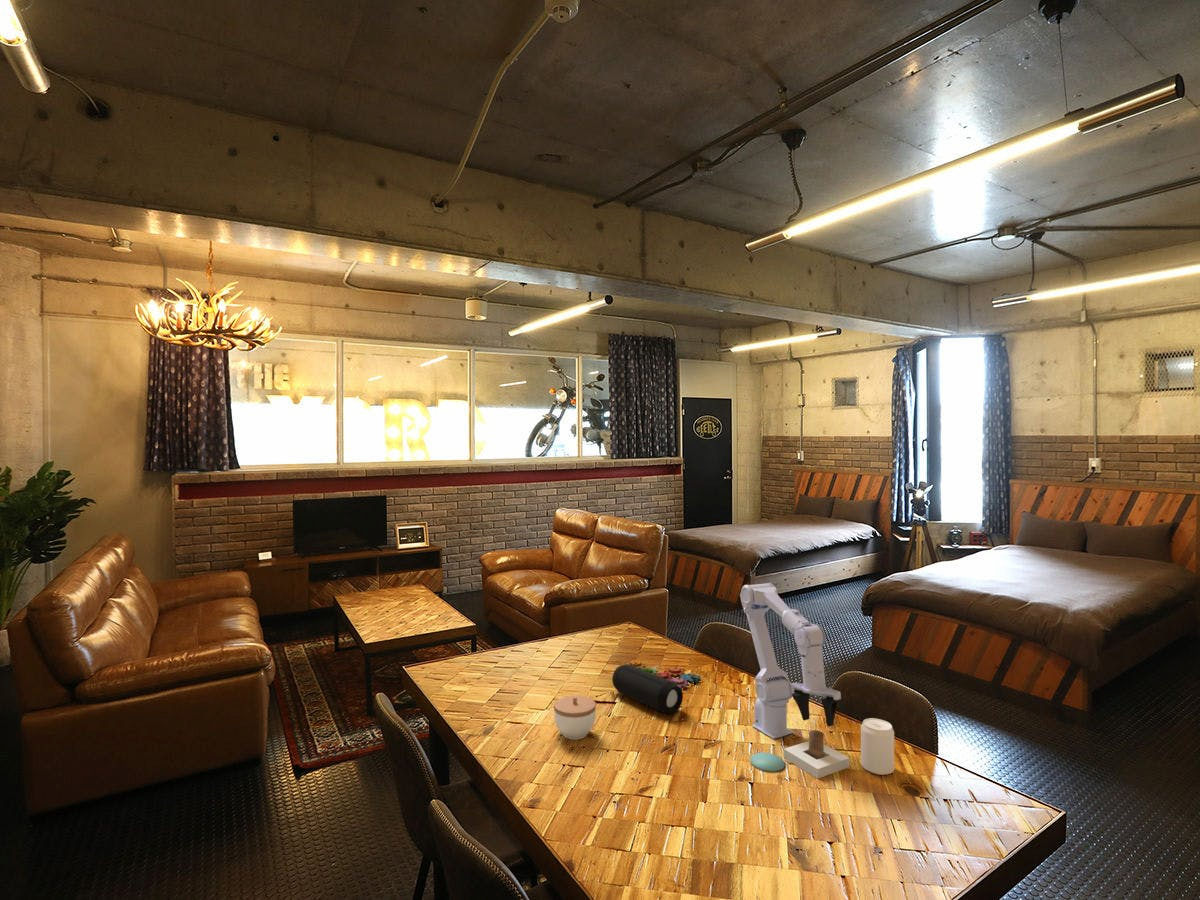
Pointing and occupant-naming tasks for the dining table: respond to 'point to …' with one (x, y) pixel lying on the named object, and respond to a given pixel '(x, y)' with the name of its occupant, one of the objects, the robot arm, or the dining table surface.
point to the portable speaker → (648, 688)
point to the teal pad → (767, 762)
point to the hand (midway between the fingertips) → (818, 722)
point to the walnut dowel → (816, 744)
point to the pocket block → (818, 767)
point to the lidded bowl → (574, 716)
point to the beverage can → (877, 746)
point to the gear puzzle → (669, 674)
